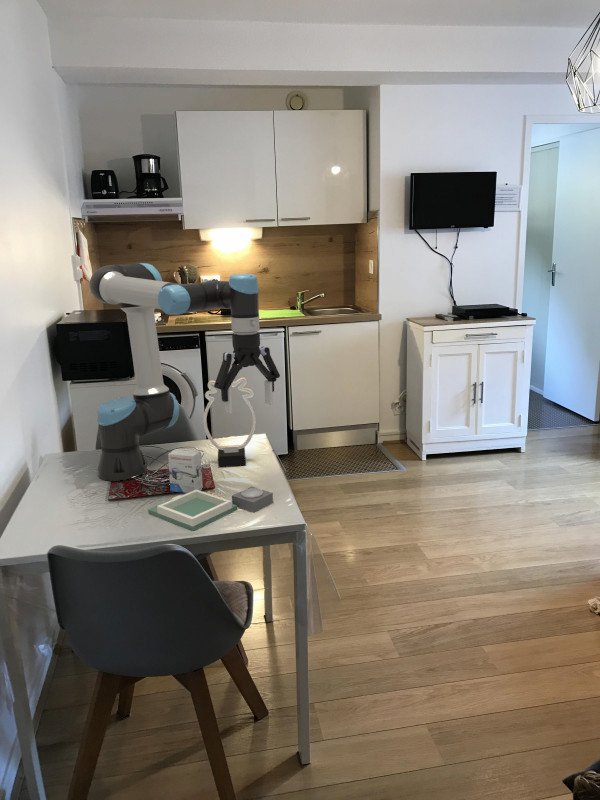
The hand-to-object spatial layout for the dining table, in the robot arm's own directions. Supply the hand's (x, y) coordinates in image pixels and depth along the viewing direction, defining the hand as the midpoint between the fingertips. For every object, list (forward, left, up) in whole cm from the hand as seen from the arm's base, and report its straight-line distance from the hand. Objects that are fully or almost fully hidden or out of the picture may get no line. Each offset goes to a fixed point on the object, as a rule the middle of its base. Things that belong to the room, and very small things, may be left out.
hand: (249, 408), depth 180 cm
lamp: (-24, +15, -26) cm, 38 cm away
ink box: (-18, -9, -26) cm, 33 cm away
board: (-5, -19, -26) cm, 32 cm away
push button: (+5, -6, -26) cm, 27 cm away
